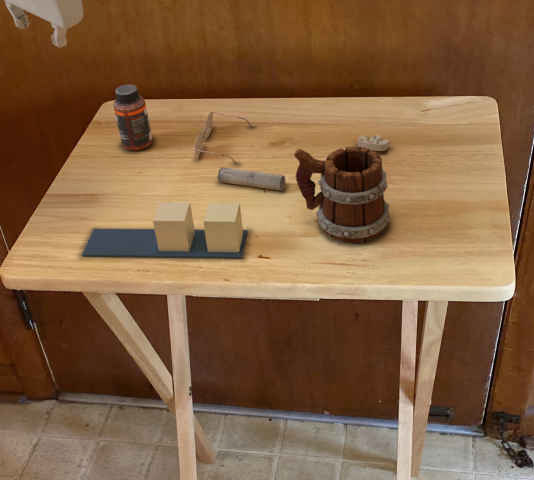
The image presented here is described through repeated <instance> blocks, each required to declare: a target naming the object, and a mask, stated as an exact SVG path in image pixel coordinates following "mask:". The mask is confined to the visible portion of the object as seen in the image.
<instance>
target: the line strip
mask: <svg viewBox="0 0 534 480" xmlns="http://www.w3.org/2000/svg"><path fill="white" fill-rule="evenodd" d="M248 232H249V231H248V229H243V237H242V242H241V246H240V250H239V252H208V249H207V242H206V236H205V230H204V229H195V235H194V238H193V242H192V245H191V248H190V251H189V252H178V251H159V248H158V243H157V239H156V234H155V229H154V228H93V229H92V232H91V234H90V236H89V238H88V240H87V243H86V245H85V247H84V249H83V252H82V253H81V256H82V257H92V258H93V257H95V258H96V257H97V258H98V257H99V258H101V257H103V258H162V259H163V258H164V259H165V258H166V259H167V258H169V259H179V258H181V259H237V260H238V259H240V260H241V259H243V256H244V250H245V245H246V243H247V242H246V241H247V238H248Z"/></svg>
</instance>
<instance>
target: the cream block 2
mask: <svg viewBox="0 0 534 480" xmlns="http://www.w3.org/2000/svg"><path fill="white" fill-rule="evenodd" d="M202 222H203V228H204V229H203V230H205V236H206V242H207V249H208V252H239V250H240V246H241V242H242V237H243V230H244V226H243V220H242V209H241V203H240V202H208V204H207V207H206V210H205V214H204V217H203V221H202Z"/></svg>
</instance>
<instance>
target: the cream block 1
mask: <svg viewBox="0 0 534 480" xmlns="http://www.w3.org/2000/svg"><path fill="white" fill-rule="evenodd" d="M152 223H153V229H155V234H156V239H157V243H158V248H159V251H178V252H189V251H190V248H191V245H192V242H193V238H194V235H195V230H196V229H195V223H194V218H193V211H192V206H191V202H178V201H177V202H176V201H175V202H174V201H173V202H171V201H170V202H165V201H163V202H161V201H160V202H158V205H157V208H156V211H155V213H154V217H153V218H152Z"/></svg>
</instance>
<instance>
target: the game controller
mask: <svg viewBox="0 0 534 480" xmlns="http://www.w3.org/2000/svg"><path fill="white" fill-rule="evenodd" d="M356 145H357V146H356V147H364V148H368V149H370V151H372V150H373V151H375V152H383V151H386V150H388V149H389V147H390V140H389V139H381V135H379V134H373V136H371V137H370V136H364V135H359V137H358V138H357V144H356Z"/></svg>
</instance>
